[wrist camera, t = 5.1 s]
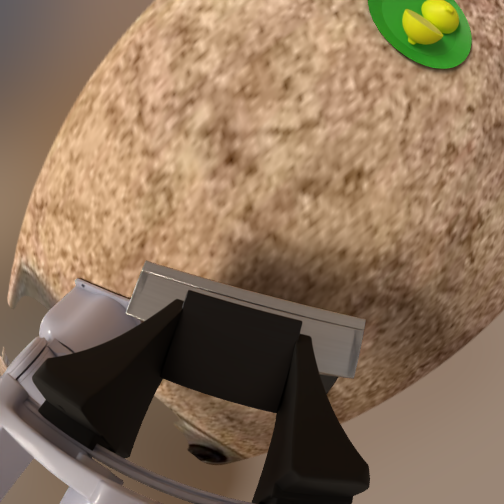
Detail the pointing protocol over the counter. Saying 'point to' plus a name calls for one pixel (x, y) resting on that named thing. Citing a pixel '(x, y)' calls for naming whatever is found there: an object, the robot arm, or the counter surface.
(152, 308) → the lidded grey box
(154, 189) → the counter surface
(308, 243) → the counter surface
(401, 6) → the green plate with lemons
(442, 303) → the counter surface
